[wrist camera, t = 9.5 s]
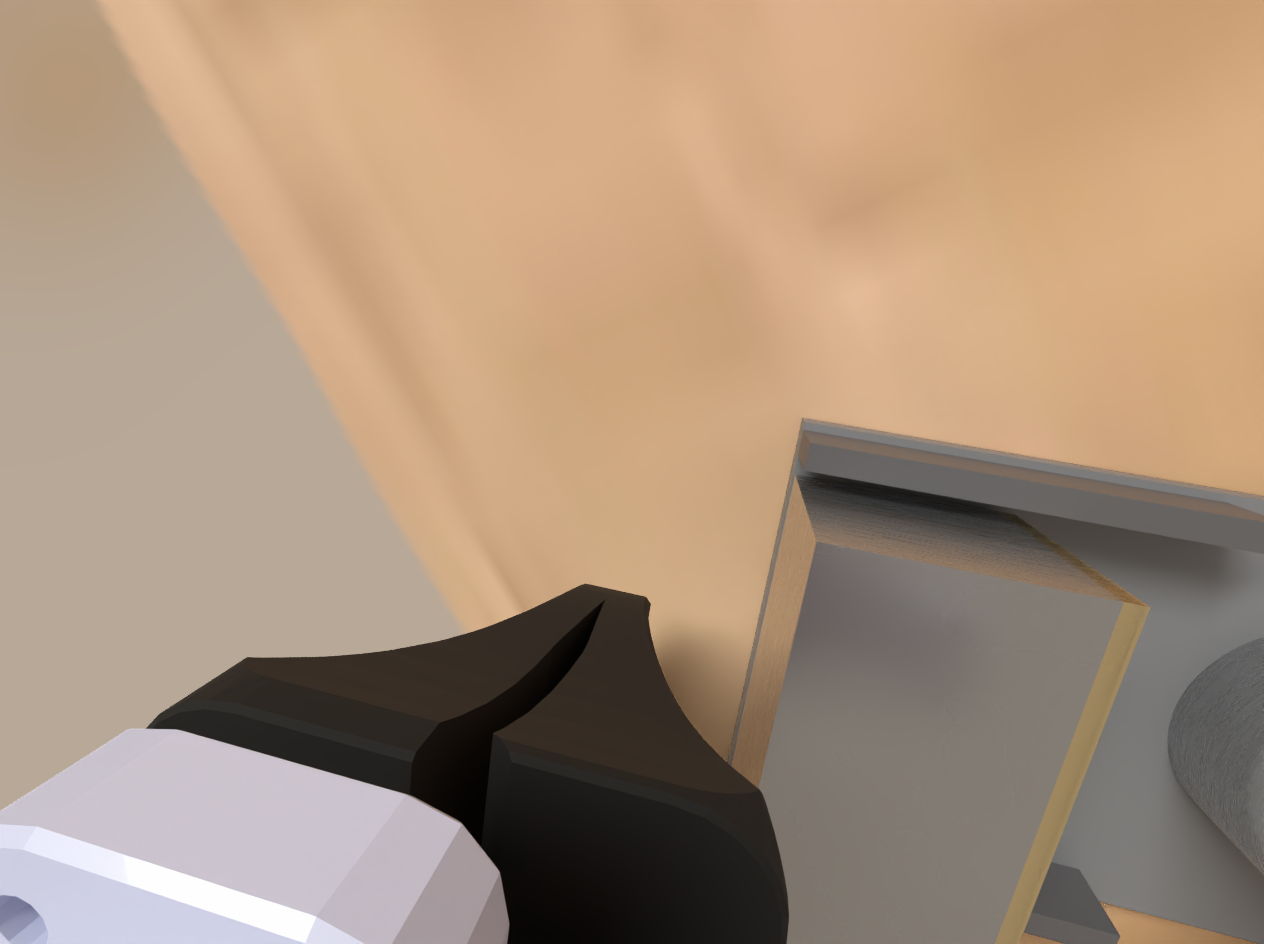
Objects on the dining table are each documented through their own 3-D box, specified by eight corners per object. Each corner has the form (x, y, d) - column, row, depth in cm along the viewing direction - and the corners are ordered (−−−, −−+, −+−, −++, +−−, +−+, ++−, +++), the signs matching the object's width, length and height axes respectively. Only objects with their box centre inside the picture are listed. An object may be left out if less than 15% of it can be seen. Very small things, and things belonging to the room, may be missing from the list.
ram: (1016, 515, 11) (1150, 607, 8) (917, 823, 13) (986, 1025, 9) (795, 474, 12) (815, 541, 8) (729, 774, 14) (721, 946, 10)
